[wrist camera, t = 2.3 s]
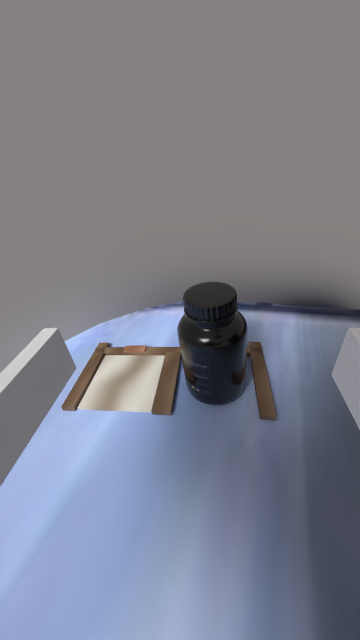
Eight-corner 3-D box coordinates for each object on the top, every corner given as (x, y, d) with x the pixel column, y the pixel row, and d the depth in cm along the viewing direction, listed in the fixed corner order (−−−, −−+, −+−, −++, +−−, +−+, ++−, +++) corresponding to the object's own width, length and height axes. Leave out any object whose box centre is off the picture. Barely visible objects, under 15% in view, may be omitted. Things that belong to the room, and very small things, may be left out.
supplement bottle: (211, 354, 33) (207, 270, 26) (257, 380, 28) (266, 288, 21) (173, 384, 29) (157, 297, 22) (218, 420, 25) (215, 324, 18)
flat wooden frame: (260, 345, 33) (260, 340, 32) (276, 419, 24) (277, 414, 23) (100, 345, 37) (98, 341, 36) (63, 410, 28) (60, 405, 27)
